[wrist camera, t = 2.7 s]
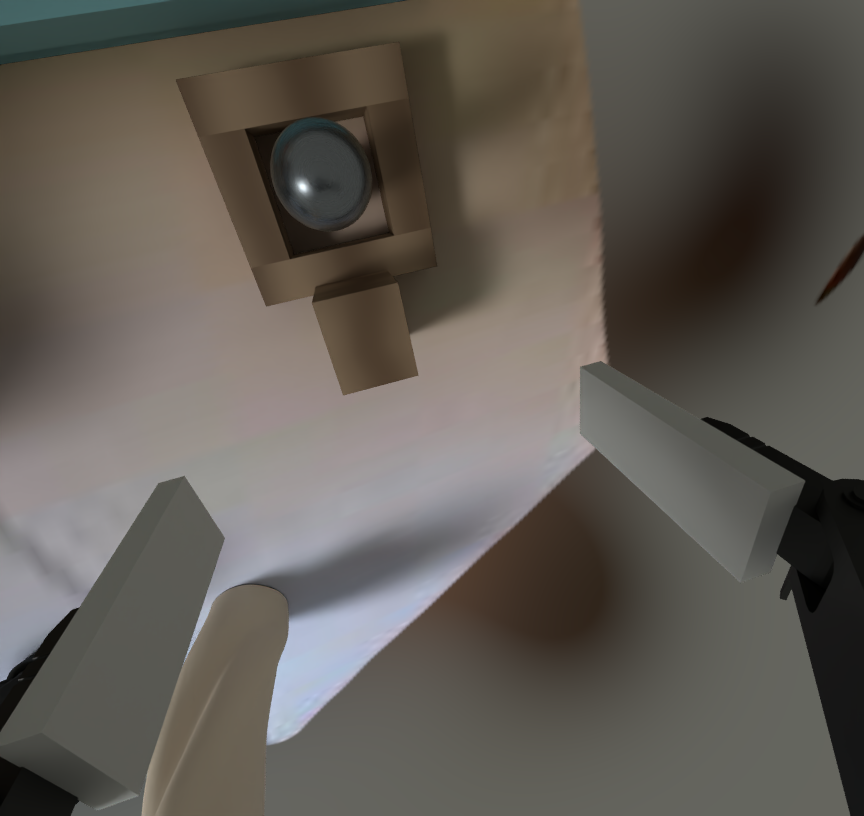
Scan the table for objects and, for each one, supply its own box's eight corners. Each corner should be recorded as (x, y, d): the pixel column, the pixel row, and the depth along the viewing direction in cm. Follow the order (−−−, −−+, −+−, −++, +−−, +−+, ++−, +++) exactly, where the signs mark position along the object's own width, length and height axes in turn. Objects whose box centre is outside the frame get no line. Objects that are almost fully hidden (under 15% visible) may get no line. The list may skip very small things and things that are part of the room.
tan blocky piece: (298, 364, 31) (288, 409, 24) (193, 93, 23) (132, 44, 16) (440, 328, 33) (469, 361, 26) (392, 59, 24) (416, -1, 17)
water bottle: (209, 647, 44) (56, 1197, 19) (176, 597, 39) (-75, 1224, 15) (302, 622, 45) (267, 1104, 21) (280, 571, 41) (203, 1103, 17)
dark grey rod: (307, 227, 27) (287, 244, 15) (286, 160, 25) (243, 117, 13) (363, 214, 27) (387, 222, 15) (347, 148, 25) (360, 96, 13)
